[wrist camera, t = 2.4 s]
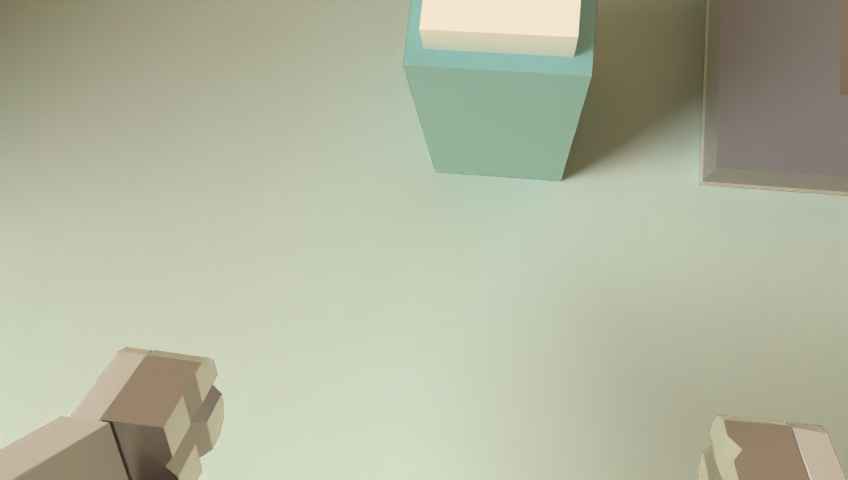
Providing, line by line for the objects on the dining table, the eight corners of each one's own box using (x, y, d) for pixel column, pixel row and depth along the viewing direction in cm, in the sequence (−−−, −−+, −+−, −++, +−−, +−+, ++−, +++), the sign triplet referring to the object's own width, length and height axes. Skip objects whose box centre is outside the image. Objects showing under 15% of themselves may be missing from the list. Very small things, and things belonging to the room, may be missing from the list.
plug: (435, 171, 26) (397, 46, 17) (448, 56, 27) (419, -128, 17) (560, 181, 26) (597, 57, 16) (569, 63, 27) (609, -123, 17)
